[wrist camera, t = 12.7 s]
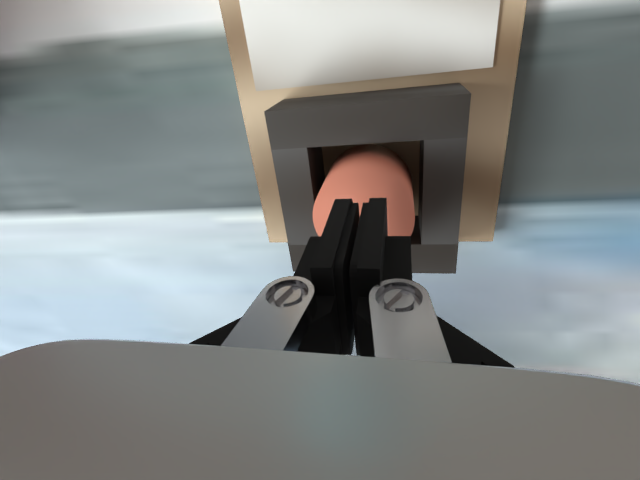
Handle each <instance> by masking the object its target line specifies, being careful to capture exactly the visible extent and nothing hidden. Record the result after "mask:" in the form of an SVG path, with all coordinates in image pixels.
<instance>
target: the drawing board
mask: <svg viewBox="0 0 640 480" xmlns="http://www.w3.org/2000/svg"><path fill="white" fill-rule="evenodd" d="M526 2H527V0H219V4H220V9H221V13H222V18H223V23H224V28H225V32H226V37H227V42H228V47H229V51H230V56H231V61H232V66H233V70H234V75H235V80H236V85H237V89H238V94H239V99H240V104H241V108H242V113H243V118H244V123H245V127H246V132H247V137H248V142H249V147H250V151H251V156H252V161H253V166H254V170H255V175H256V180H257V185H258V189H259V194H260V199H261V204H262V208H263V213H264V218H265V223H266V227H267V232H268V237H269V242H288V246H289V251H290V257H291V262H292V268H293V271H296V269H297V266H298V264H299V262H300V259H301V257H302V255H303V252H304V250H305V247H306V245H307V243H308V240H309V238H310V237H311V236H318V234H317V232H316V230H315V227H314V223H313V207H314V203H315V200H316V198H317V195H318V193H319V191H320V189H321V187H322V185H323V183H324V181H325V179H326V177H327V175H328V172H329V170H330V168H331V166H332V165H333V163H334V162H335V160H336V159H337V158H338V157H339V156H340V155H341V154H342V153H344V152H345V151H347V150H348V149H350V148H353V147H355V146H359V145H365V144H374V145H380V146H383V147H386V148H388V149H390V150H392V151H394V152H395V153H397V154H398V155H399V156H400V157H401V158H402V159H403V160H404V162H405V163H406V165H407V166H408V168H409V171H410V174H411V178H412V188H413V199H414V210H415V224H414V229H413V232H412V234H411V236H410V237H411V263H412V273H456V263H457V252H458V241H493V236H494V229H495V222H496V215H497V208H498V201H499V194H500V187H501V180H502V173H503V166H504V158H505V151H506V144H507V137H508V130H509V123H510V116H511V109H512V102H513V95H514V88H515V80H516V73H517V66H518V59H519V52H520V45H521V38H522V31H523V24H524V17H525V10H526Z"/></svg>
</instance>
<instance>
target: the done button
mask: <svg viewBox="0 0 640 480" xmlns="http://www.w3.org/2000/svg"><path fill="white" fill-rule="evenodd" d="M370 198H387V229H388V236H411V234H412V232H413V229H414V224H415V210H414V199H413V188H412V178H411V174H410V171H409V168H408V166H407V165H406V163H405V162H404V160H403V159H402V158H401V157H400V156H399V155H398V154H397V153H395V152H394V151H392V150H390V149H388V148H386V147H383V146H380V145H374V144H365V145H359V146H355V147H353V148H350V149H348V150H347V151H345V152H344V153H342V154H341V155H340V156H339V157H338V158H337V159H336V160H335V162H334V163H333V165H332V166H331V168H330V170H329V172H328V175H327V177H326V179H325V181H324V183H323V185H322V187H321V189H320V191H319V193H318V195H317V198H316V200H315V203H314V207H313V223H314V227H315V230H316V232H317V234H318V236H321V235H322V233H323V230H324V227H325V225H326V222H327V219H328V217H329V214H330V211H331V209H332V206H333V203H334V201H335V199H352V201H353V203H358V204H359V215H360V214H361V210H362V205H363V203H366V202H369V199H370Z"/></svg>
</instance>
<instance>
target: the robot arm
mask: <svg viewBox="0 0 640 480" xmlns="http://www.w3.org/2000/svg"><path fill="white" fill-rule="evenodd" d="M354 336H355V343H356V353H357V355H360V356H351V354H352V350H353V343H354ZM345 354H346V355H345ZM0 480H640V384H636V383H632V382H628V381H622V380H616V379H610V378H604V377H598V376H592V375H582V374H572V373H563V372H553V371H544V370H534V369H524V368H515V367H514V366H513V365H511V364H510V363H508V362H507V361H505V360H504V359H502V358H501V357H499V356H497V355H496V354H494V353H493V352H491V351H490V350H488V349H487V348H485V347H484V346H482V345H481V344H479V343H478V342H476V341H475V340H473V339H471V338H470V337H468V336H467V335H465V334H464V333H462V332H461V331H459V330H458V329H456V328H455V327H453V326H452V325H450V324H449V323H447V322H445V321H444V320H442V319H441V318H439V317H438V316H436V314H435V311H434V308H433V305H432V302H431V299H430V296H429V294H428V292H427V290H426V289H425V288H424V287H423V286H421V285H420V284H418V283H416V282H414V281H412V263H411V237H410V236H388V229H387V198H370V199H369V202H366V203H363V205H362V210H361V214H360V215H359V204H358V203H353V201H352V199H335V201H334V203H333V206H332V209H331V211H330V214H329V217H328V219H327V222H326V225H325V227H324V230H323V233H322V235H321V236H311V237H310V238H309V240H308V243H307V245H306V247H305V250H304V252H303V255H302V257H301V259H300V262H299V264H298V266H297V269H296V271H295V273H294V276H288V277H282V278H279V279H277V280H274V281H272V282H271V283H269V284H268V285H267V286H266V287H265V288H264V289H263V290H262V291H261V292H260V294H259V295H258V296H257V298H256V299H255V300H254V302H253V303H252V304H251V306H250V307H249V308H248V310H247V311H246V312H245V314H244V315H243V317H241V318H239V319H237V320H235V321H233V322H231V323H229V324H227V325H225V326H223V327H221V328H219V329H217V330H215V331H213V332H211V333H209V334H207V335H205V336H203V337H201V338H199V339H197V340H195V341H193V342H191V343H189V344H181V343H166V342H151V341H136V340H109V339H78V340H64V341H56V342H49V343H44V344H39V345H35V346H31V347H27V348H24V349H20V350H17V351H14V352H11V353H9V354H6V355H3V356H1V357H0Z"/></svg>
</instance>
